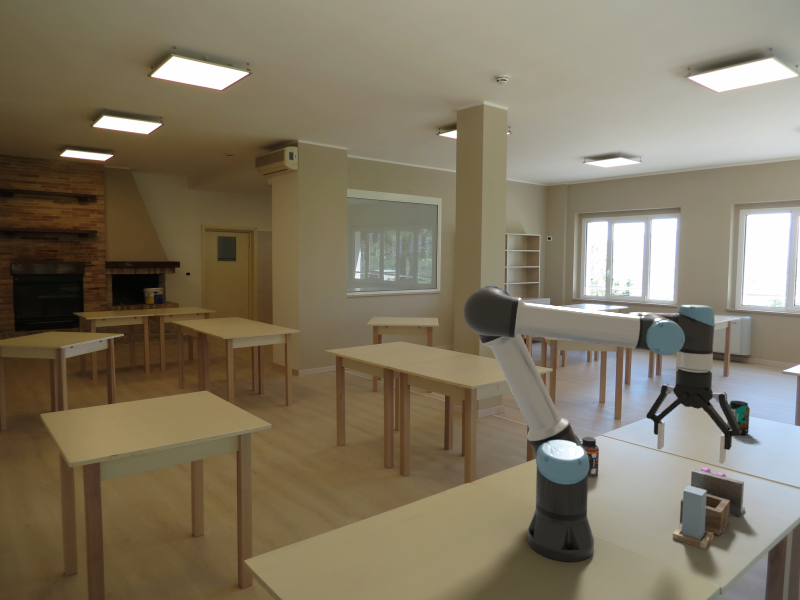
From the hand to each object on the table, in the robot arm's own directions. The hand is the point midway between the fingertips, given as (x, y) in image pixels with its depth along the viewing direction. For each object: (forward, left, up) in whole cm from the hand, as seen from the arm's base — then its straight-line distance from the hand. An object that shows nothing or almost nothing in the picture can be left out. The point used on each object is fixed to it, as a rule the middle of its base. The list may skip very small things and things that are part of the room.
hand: (690, 454), depth 127 cm
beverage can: (+96, +8, -20) cm, 98 cm away
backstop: (+21, -2, -20) cm, 29 cm away
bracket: (+34, 0, -20) cm, 39 cm away
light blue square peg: (-1, -2, -20) cm, 20 cm away
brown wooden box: (+9, -2, -20) cm, 22 cm away
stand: (-1, -2, -20) cm, 20 cm away
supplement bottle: (+18, +33, -20) cm, 43 cm away
